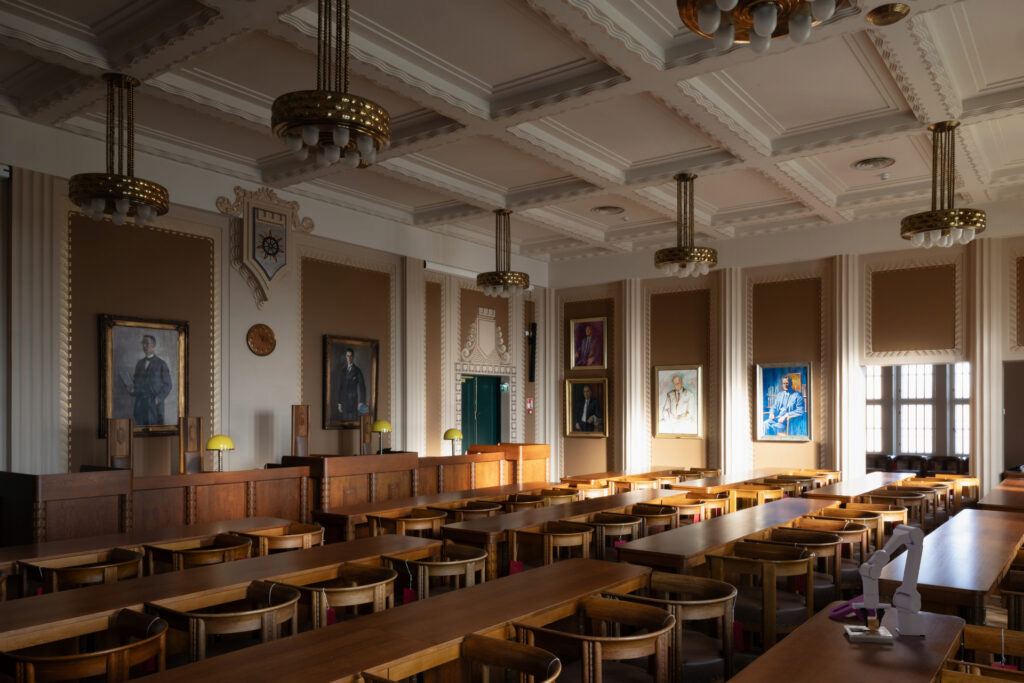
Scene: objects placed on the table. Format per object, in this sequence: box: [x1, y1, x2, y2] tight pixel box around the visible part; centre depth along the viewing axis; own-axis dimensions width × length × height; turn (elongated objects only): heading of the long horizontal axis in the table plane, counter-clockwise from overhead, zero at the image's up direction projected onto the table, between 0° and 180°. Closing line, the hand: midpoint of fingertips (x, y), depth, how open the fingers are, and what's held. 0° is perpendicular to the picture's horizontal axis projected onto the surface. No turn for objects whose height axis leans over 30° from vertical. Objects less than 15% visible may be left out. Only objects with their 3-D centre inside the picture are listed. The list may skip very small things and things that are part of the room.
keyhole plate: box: [843, 624, 894, 644], centre depth 321 cm, size 16×12×3 cm
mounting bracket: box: [828, 594, 877, 622], centre depth 348 cm, size 9×8×18 cm
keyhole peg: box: [867, 616, 879, 632], centre depth 321 cm, size 4×4×8 cm
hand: (872, 626), depth 321 cm, fingers closed on keyhole peg, 4 cm apart
